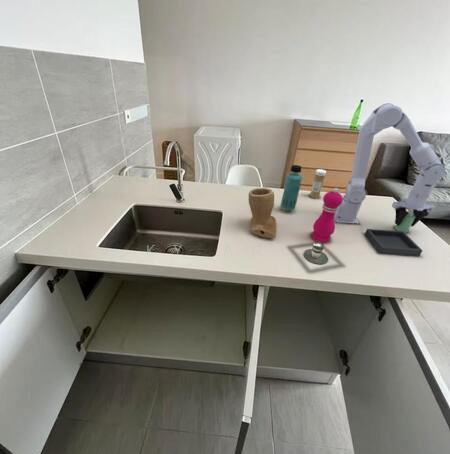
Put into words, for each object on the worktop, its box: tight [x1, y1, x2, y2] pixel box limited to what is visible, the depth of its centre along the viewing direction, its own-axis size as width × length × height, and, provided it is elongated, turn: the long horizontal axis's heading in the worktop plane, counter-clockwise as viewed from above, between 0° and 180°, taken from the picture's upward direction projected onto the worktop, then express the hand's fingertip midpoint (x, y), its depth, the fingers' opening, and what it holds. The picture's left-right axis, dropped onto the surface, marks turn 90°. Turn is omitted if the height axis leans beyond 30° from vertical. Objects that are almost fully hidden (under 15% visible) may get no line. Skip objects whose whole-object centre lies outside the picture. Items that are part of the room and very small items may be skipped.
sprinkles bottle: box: [309, 168, 327, 199], centre depth 116 cm, size 5×5×14 cm
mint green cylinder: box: [394, 210, 416, 234], centre depth 95 cm, size 4×4×8 cm
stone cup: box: [248, 187, 278, 239], centre depth 89 cm, size 15×12×15 cm
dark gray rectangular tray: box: [364, 228, 423, 257], centre depth 87 cm, size 14×12×2 cm
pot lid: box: [303, 241, 329, 265], centre depth 79 cm, size 12×12×5 cm
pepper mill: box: [311, 187, 343, 244], centre depth 84 cm, size 7×7×20 cm
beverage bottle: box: [280, 164, 303, 211], centre depth 101 cm, size 6×7×20 cm
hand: (403, 224), depth 96 cm, fingers open, 5 cm apart
